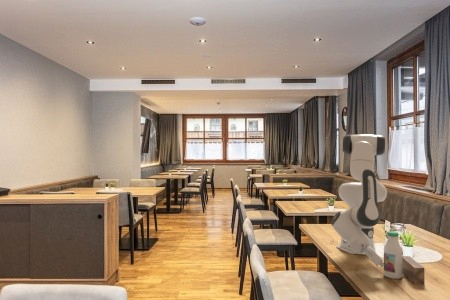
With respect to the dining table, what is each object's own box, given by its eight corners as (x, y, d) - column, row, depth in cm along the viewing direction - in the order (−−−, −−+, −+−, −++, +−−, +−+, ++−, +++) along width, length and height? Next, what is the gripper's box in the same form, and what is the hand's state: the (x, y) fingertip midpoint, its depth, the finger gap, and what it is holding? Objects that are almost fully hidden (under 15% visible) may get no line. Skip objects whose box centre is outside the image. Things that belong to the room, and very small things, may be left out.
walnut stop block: (414, 284, 157) (414, 267, 157) (400, 270, 175) (400, 255, 175) (424, 284, 156) (424, 268, 156) (409, 271, 174) (409, 256, 174)
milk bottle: (396, 273, 171) (396, 230, 171) (406, 279, 163) (405, 233, 163) (380, 273, 170) (380, 230, 170) (389, 279, 162) (389, 234, 163)
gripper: (370, 243, 158) (394, 267, 157) (360, 233, 178) (382, 254, 177) (359, 253, 159) (383, 277, 157) (351, 242, 179) (372, 263, 177)
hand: (382, 265), depth 167 cm, fingers closed, pressing on milk bottle
